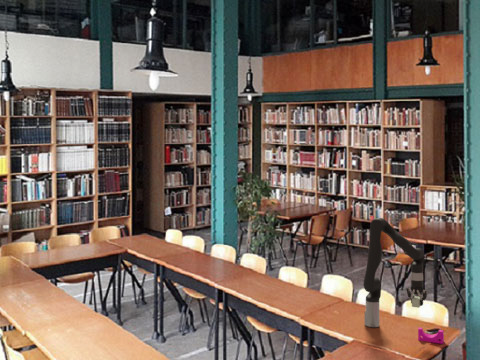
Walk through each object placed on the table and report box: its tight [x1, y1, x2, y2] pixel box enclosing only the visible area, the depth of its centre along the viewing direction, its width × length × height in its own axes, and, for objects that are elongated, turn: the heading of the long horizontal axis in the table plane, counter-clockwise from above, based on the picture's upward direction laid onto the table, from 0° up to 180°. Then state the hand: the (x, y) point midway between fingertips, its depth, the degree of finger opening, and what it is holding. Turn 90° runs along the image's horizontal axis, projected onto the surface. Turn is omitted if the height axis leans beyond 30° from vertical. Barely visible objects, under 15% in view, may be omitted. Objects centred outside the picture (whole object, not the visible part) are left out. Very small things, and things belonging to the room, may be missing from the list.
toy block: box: [417, 327, 445, 345], centre depth 350 cm, size 15×6×8 cm, turn 64°
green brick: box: [411, 295, 421, 308], centre depth 355 cm, size 4×9×5 cm, turn 150°
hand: (417, 304), depth 355 cm, fingers closed on green brick, 5 cm apart
